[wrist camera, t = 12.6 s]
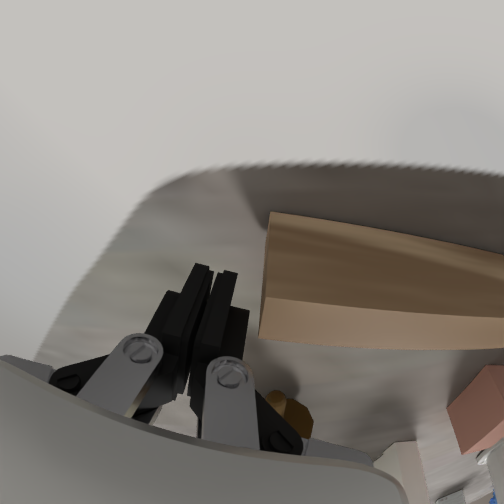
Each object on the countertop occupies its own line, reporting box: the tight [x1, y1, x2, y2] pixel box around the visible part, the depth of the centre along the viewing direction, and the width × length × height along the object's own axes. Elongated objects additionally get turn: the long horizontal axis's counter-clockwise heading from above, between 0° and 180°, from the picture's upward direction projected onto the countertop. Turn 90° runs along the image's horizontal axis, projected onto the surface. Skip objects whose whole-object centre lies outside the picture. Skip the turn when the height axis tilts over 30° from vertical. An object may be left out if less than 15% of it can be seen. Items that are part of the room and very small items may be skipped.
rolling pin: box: [265, 390, 314, 440], centre depth 24 cm, size 32×6×5 cm, turn 10°
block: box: [446, 365, 504, 455], centre depth 17 cm, size 4×6×6 cm
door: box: [258, 211, 504, 350], centre depth 11 cm, size 2×21×6 cm, turn 83°
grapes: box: [489, 489, 497, 504], centre depth 45 cm, size 12×7×12 cm, turn 51°
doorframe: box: [373, 441, 430, 504], centre depth 17 cm, size 5×33×9 cm, turn 167°
